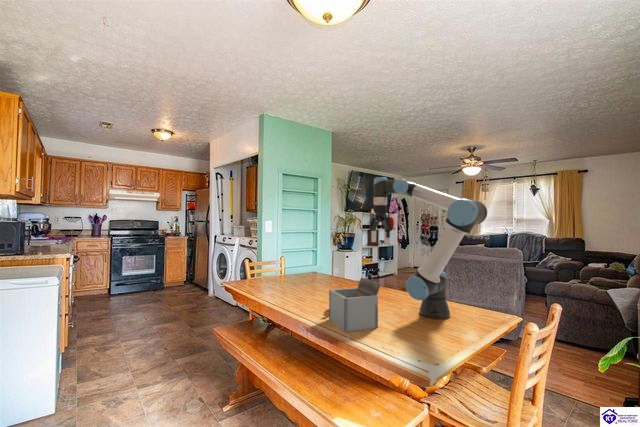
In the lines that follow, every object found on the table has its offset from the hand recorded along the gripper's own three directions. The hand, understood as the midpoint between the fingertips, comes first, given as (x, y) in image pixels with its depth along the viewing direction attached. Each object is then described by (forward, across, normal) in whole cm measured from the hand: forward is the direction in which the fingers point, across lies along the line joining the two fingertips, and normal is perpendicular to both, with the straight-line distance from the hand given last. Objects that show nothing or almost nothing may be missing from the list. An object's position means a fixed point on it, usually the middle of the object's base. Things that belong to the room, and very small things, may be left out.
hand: (380, 242), depth 168 cm
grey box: (+37, +16, -25) cm, 47 cm away
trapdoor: (+26, +16, -17) cm, 35 cm away
